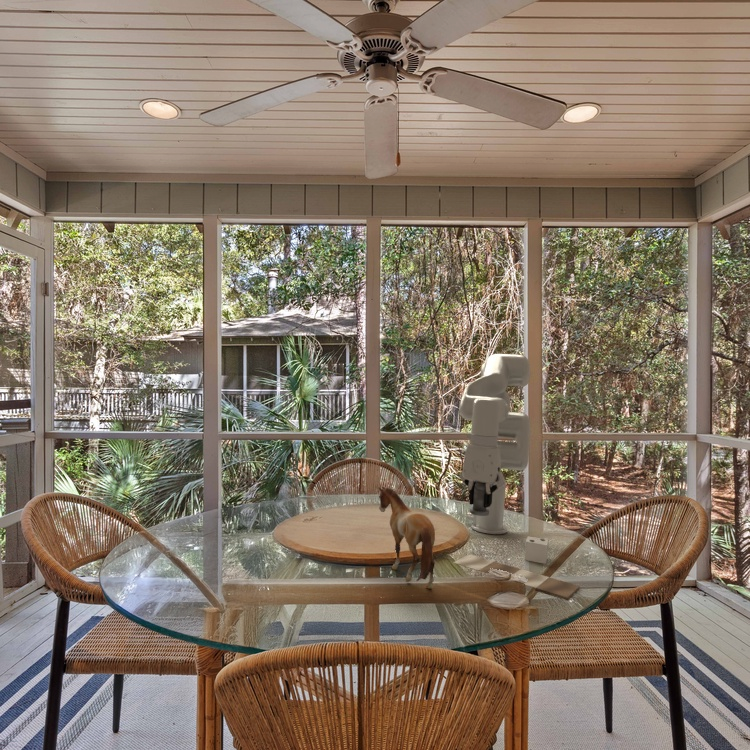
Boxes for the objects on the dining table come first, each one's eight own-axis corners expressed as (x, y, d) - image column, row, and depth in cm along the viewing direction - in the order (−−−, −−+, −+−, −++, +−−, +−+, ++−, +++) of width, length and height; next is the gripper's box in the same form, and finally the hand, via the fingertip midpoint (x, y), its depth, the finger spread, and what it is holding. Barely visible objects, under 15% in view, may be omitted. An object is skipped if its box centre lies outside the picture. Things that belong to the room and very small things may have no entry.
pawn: (466, 512, 148) (468, 480, 148) (475, 509, 153) (477, 477, 153) (483, 517, 145) (485, 483, 145) (492, 513, 149) (494, 481, 149)
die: (524, 561, 154) (525, 541, 154) (526, 555, 160) (527, 535, 160) (545, 565, 152) (547, 544, 152) (547, 559, 157) (548, 539, 157)
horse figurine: (372, 556, 151) (377, 485, 151) (397, 554, 153) (402, 484, 153) (418, 603, 122) (423, 515, 121) (447, 599, 124) (453, 513, 124)
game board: (452, 564, 148) (453, 562, 148) (469, 556, 156) (469, 554, 156) (567, 600, 128) (567, 597, 128) (579, 588, 136) (579, 585, 136)
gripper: (451, 438, 151) (447, 501, 151) (506, 446, 141) (501, 513, 141) (464, 436, 157) (460, 497, 157) (517, 444, 147) (512, 509, 147)
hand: (479, 504), depth 149 cm, fingers closed on pawn, 3 cm apart
